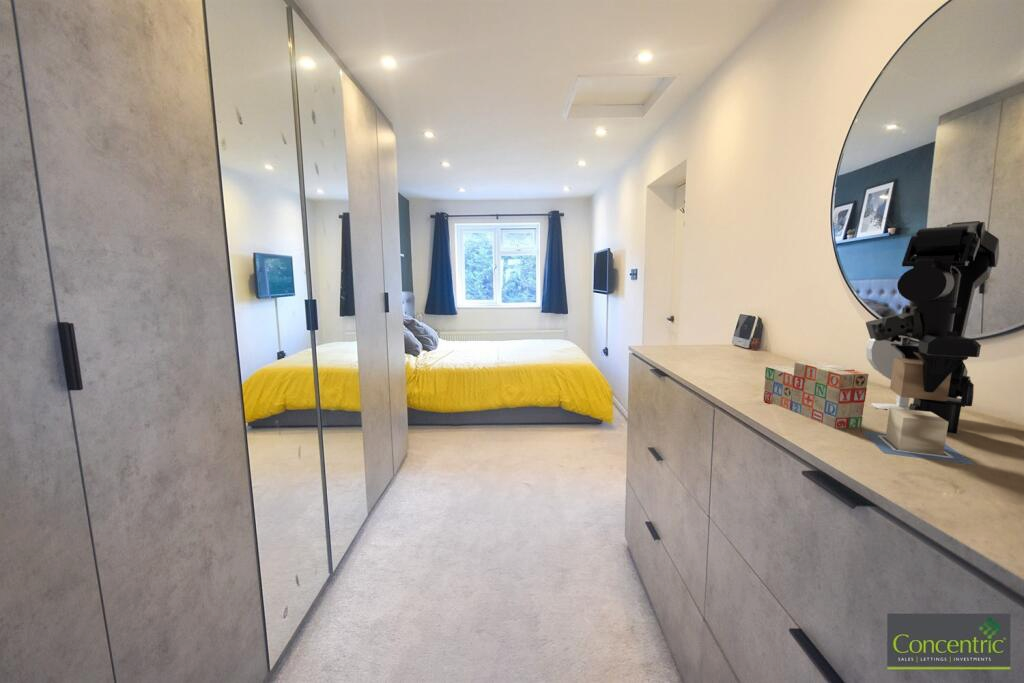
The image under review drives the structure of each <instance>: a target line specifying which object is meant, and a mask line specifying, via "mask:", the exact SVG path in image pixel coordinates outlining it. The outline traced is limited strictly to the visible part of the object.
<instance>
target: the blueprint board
mask: <svg viewBox="0 0 1024 683" xmlns="http://www.w3.org/2000/svg"><path fill="white" fill-rule="evenodd" d="M860 432H861V433H862V434H863V435H865V437H866V438H868V439H869V440H870V441H871V442H872V443H873V444H874V446H876V447H877V448H878V449H879V450H880V451H881V452H882V453H883V454H886V455H887V454H888V455H895V456H903V457H910V458H919V459H924V460H926V459H927V460H934V461H941V462H946V463H947V462H948V463H955V464H962V465H963V464H964V465H970V466H977V464H976V463H974V462H973V461H971V460H970V459H968V458H967V457H966V456H965V455H963V454H962V453H960V452H958V451H957V450H955V449H954V448H953V447H951V446H949V445H948V444H946V443H945V447H944V454H943V455H938V454H930V453H922V452H915V451H907V450H899V449H898V448H897V447H895V446H894V445H893V444H892V443H891V442H890V441H888V440H887V439H886V432H885V433H884V432H874V431H867V430H860Z"/></svg>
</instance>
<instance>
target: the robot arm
mask: <svg viewBox="0 0 1024 683" xmlns="http://www.w3.org/2000/svg"><path fill="white" fill-rule="evenodd" d="M999 257H1000V239H999V237H997V236H995V235H994V234H992V233H991V232H989V231H988V230H986V223H985V221H980V220H976V221H975V220H974V221H973V220H972V221H971V220H970V221H963V222H962V221H961V222H952V223H951V224H949V223H948V224H947V225H946V226H937V227H936V226H935V227H924V228H923V227H922V228H919V229H918V230H916V233H915V235H913V234H912V235H911V237H910V240H909V242H908V245H907V247H906V251H905V254H904V255H903V260H902V263H901V267H903V268H905V267H906V268H910V269H908V270H907V271H905V272H904V273H903V274H902V275H901V276H900V278H899V279H898V281H897V287H896V288H897V291H898V293H899V294H900V295H901V297H903V298H904V299H905V300H908V301H909V302H910V303H909V304H907V305H905V304H904V306H903V307H902V309H901V310H902V311H901V313H899V314H892V315H889V316H883V317H881V318H880V317H879V318H878V319H872V320H870V321H869V320H868V321H866V322H865V326H866V330H867V332H868V336H869V339H870V338H871V339H875V340H876V341H881V340H887V341H889V342H894V341H895V340H896V344H891V346H893V347H894V348H895V349H897V350H898V351H899V352H900V353H901V354H902V358H910V359H921V360H922V362H923V382H924V391H925V392H934V391H935V390H936V389H937V388H938V387H939V385H940V384H941V383H942V382H943V381H944V380H945V379H946V378H947V377H948V376H949V374H950V373H951V372H952V373H951V379H950V385H949V392H948V398H947V401H939V400H928V399H918V398H913V402H912V403H909V406H910V407H909V410H916V411H926V412H932V413H934V414H936V415H937V416H939V417H941V418H942V419H944V420H946V421H948V429H947V434H956V435H957V434H958V435H962V432H960V431H959V430H958V429H959V422H960V415H961V410H962V409H961V408H965V407H972V406H973V403H974V402H973V401H974V391H975V388H974V387H975V385H974V383H973V382H972V380H971V376H968V373H969V372H968V369H967V367H966V364H965V362H964V361H967V360H968V359H969V358H980V354H981V353H980V352H981V348H982V345H981V344H980V343H979V342H978V341H977V340H976V339H974V338H970V337H965V334H966V330H967V327H968V323H969V322H968V321H969V317H970V313H971V309H972V304H973V301H974V296H975V292H976V289H977V288H979V287H980V286H981V285H982V284H984V283H985V282H986V281H987V280H988V279H989V278H990V277H991V271H992V270H993V268H997V266H998V261H999ZM911 267H912V268H911Z"/></svg>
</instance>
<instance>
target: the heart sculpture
mask: <svg viewBox="0 0 1024 683" xmlns="http://www.w3.org/2000/svg"><path fill="white" fill-rule="evenodd" d="M891 344H896V340H895V341H894V342H889V341H887V340H881V341H876V340H875V339H871V338H870V337H869V338H868V340H867V343H866V345H865V352H866V360H867V361H868V362H869V364H870V366H871V367H872V368H873V369H874V370H875V371H877V372H878V373H879V374H880V375H882V376H883V377H884V378H887V379H888V380H890V381H891V378H892V370H893V363H894V358H902V354H901V353H900V352H899V351H898V350H897V349H895V348H894V347H893V346H891ZM871 403H872V404H871V405H873V406H875V407H877V408H886V409H890V408H895V409H906V410H909V407H910V398H907V397H900V396H899V395H898V394H897V393H896V402H895V403H893V404H892V403H878V402H871Z"/></svg>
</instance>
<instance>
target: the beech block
mask: <svg viewBox="0 0 1024 683" xmlns="http://www.w3.org/2000/svg"><path fill="white" fill-rule="evenodd" d="M888 411H889V412H888V419H887V425H886V430H885V431H886V432H885V434H886V439H887V440H888V441H890V442H891V443H892V444H893V445H894V446H895V447H897V448H898V449H899V450H907V451H915V452H922V453H930V454H938V455H943V454H944V447H945V444H946V440H947V434H948V433H947V429H948V421H946V420H944V419H942V418H941V417H939V416H937V415H936V414H934V413H932V412H926V411H916V410H906V409H895V408H890V409H889V410H888Z"/></svg>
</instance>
